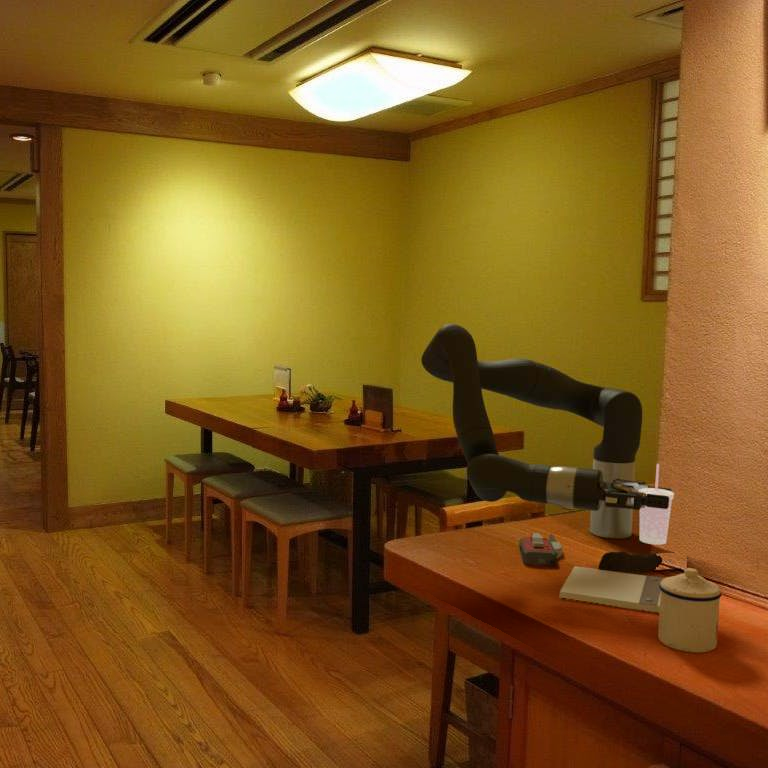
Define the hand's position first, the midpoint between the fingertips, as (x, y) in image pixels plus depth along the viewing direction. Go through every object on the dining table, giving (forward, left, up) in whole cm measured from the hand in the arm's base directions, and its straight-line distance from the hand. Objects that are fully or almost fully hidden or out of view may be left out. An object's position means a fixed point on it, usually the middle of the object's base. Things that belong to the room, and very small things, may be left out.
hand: (669, 498), depth 148 cm
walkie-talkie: (-18, -26, -19) cm, 37 cm away
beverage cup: (0, -2, -8) cm, 9 cm away
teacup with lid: (+18, +4, -18) cm, 26 cm away
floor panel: (0, -5, -18) cm, 19 cm away
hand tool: (-14, -5, -19) cm, 24 cm away
